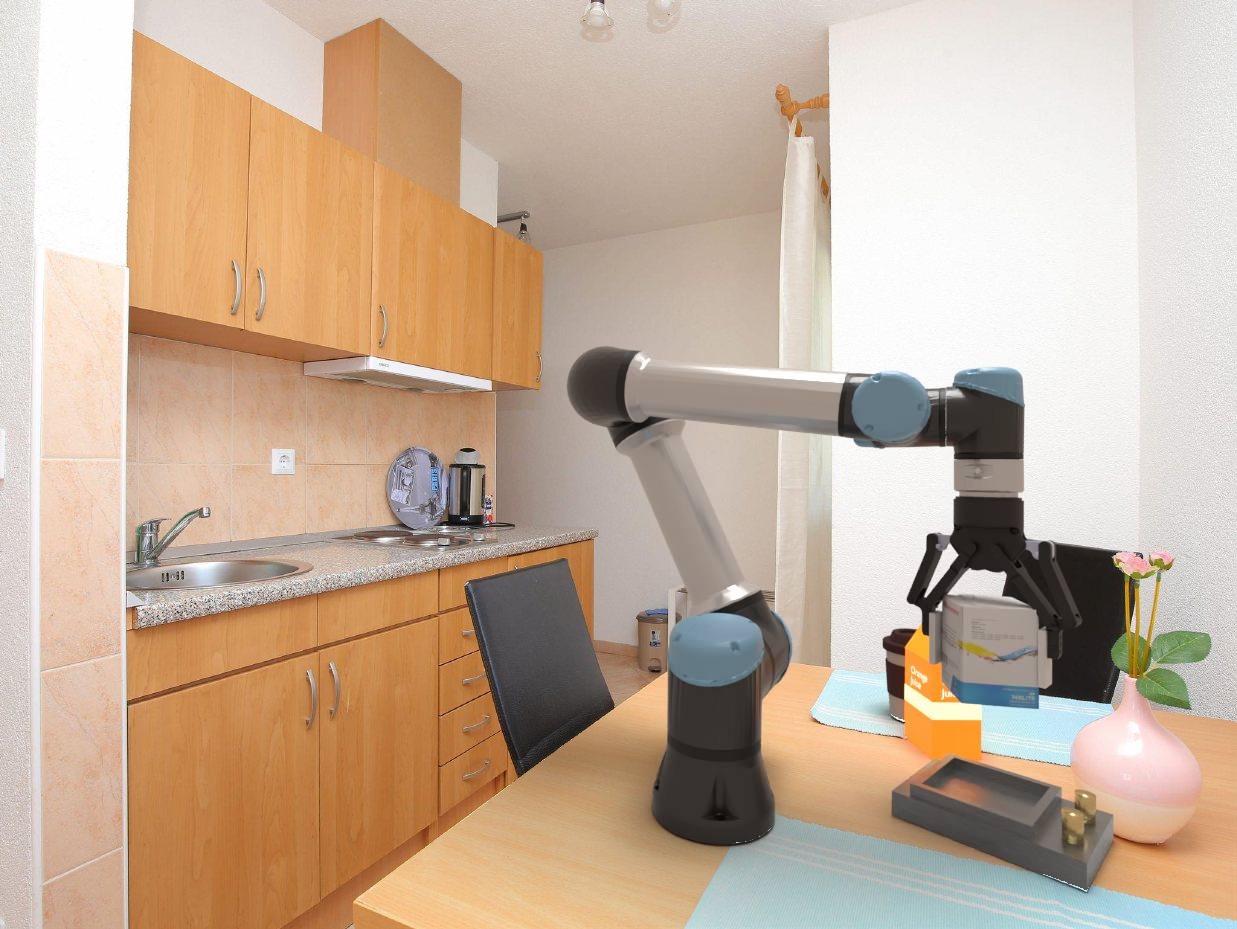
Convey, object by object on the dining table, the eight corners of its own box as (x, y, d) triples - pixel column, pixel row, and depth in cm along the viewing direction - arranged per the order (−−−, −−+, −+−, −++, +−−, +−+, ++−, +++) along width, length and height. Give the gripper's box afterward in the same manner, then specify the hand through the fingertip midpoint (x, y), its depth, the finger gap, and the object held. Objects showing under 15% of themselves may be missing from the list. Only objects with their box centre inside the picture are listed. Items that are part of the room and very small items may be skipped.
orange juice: (950, 736, 105) (951, 613, 106) (982, 760, 97) (983, 626, 97) (902, 736, 105) (904, 613, 105) (930, 760, 96) (932, 625, 97)
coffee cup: (873, 718, 112) (874, 632, 112) (892, 704, 120) (893, 623, 120) (935, 734, 106) (935, 643, 106) (950, 718, 113) (951, 632, 114)
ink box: (1041, 711, 74) (1041, 608, 74) (960, 704, 76) (960, 604, 76) (1012, 687, 82) (1012, 595, 82) (939, 681, 84) (940, 592, 84)
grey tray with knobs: (891, 815, 80) (892, 766, 80) (934, 779, 90) (935, 736, 90) (1086, 892, 66) (1087, 833, 66) (1113, 840, 76) (1113, 788, 76)
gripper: (879, 492, 85) (878, 658, 85) (1099, 498, 68) (1099, 706, 68) (903, 492, 91) (903, 648, 90) (1114, 497, 73) (1114, 691, 73)
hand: (987, 673), depth 79 cm, fingers closed on ink box, 11 cm apart
